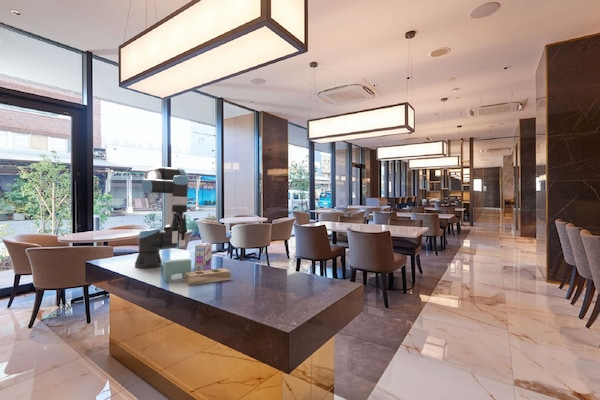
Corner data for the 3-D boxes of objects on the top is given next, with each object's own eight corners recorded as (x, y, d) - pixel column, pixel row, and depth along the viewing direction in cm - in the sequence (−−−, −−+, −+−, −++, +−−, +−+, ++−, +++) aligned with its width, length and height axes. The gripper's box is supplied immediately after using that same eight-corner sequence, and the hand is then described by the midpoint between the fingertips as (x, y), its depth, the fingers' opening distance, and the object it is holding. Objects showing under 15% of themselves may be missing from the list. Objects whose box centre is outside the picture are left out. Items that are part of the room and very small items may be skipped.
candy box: (203, 274, 171) (205, 245, 171) (193, 273, 171) (194, 245, 171) (211, 268, 184) (212, 242, 185) (202, 268, 185) (203, 242, 185)
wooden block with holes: (183, 281, 155) (184, 272, 155) (223, 275, 168) (224, 268, 168) (189, 285, 148) (189, 276, 148) (230, 279, 161) (230, 271, 161)
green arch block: (162, 279, 156) (163, 260, 156) (188, 276, 164) (188, 258, 164) (164, 281, 152) (165, 262, 152) (190, 278, 160) (191, 260, 160)
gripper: (166, 204, 166) (164, 242, 165) (179, 205, 146) (177, 248, 146) (180, 204, 170) (178, 241, 170) (194, 205, 151) (193, 247, 150)
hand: (178, 244), depth 158 cm, fingers open, 13 cm apart
